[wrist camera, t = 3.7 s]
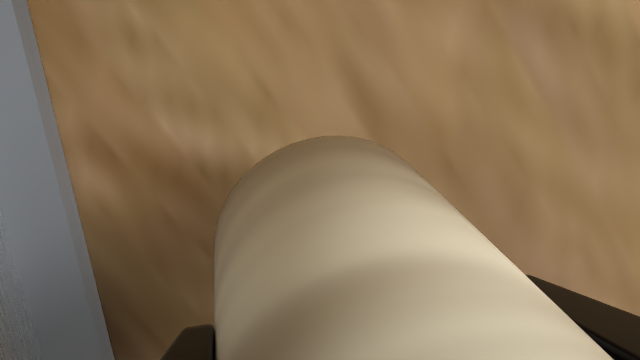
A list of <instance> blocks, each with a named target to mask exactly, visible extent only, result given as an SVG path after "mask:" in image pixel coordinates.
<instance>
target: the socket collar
mask: <svg viewBox="0 0 640 360" xmlns="http://www.w3.org/2000/svg"><path fill="white" fill-rule="evenodd" d="M42 353H43V350H42V346H41V343H40V340H39V337H38V333H37V330H36V327H35V323H34V320H33V317H32V314H31V310H30V307H29V304H28V301H27V297H26V294H25V291H24V287H23V284H22V281H21V278H20V274H19V271H18V268H17V265H16V261H15V258H14V255H13V251H12V248H11V245H10V242H9V238H8V235H7V232H6V229H5V225H4V222H3V219H2V216H1V212H0V360H40V358H41V355H42Z"/></svg>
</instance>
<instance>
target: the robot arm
mask: <svg viewBox="0 0 640 360" xmlns="http://www.w3.org/2000/svg"><path fill="white" fill-rule="evenodd" d="M526 276H527V277H528V278H529V279H530V280H531V281H532V282H533V283H534V284H535V285H536V286H537V287H538V288H539V289H540V290H541V291H542V292H543V293H544V294H545V295H546V296H547V297H549V298H550V299H551V300H552V301H553V302H554V303H555V304H556V305H557V306H558V307H559V308H560V309H561V310H562V311H563V312H564V313H565V314H566V315H567V316H568V317H569V318H570V319H572V320H573V321H574V322H575V323H576V324H577V325H578V326H579V327H580V328H581V329H582V330H583V331H584V332H585V333H586V334H587V335H588V336H589V337H590V338H591V339H592V340H593V341H595V342H596V343H597V344H598V345H599V346H600V347H601V348H602V349H603V350H604V351H605V352H606V353H607V354H608V355H609V356H610V357H611V358H612V359H613V360H640V317H639V316H636V315H634V314H631V313H629V312H626V311H623V310H621V309H618V308H615V307H613V306H610V305H607V304H605V303H602V302H600V301H597V300H594V299H592V298H589V297H586V296H584V295H581V294H578V293H576V292H573V291H570V290H568V289H565V288H563V287H560V286H557V285H555V284H552V283H549V282H547V281H544V280H541V279H539V278H536V277H534V276H531V275H526ZM161 360H215V331H214V327H213V326H212V325H210V324H207V325H200V326H194V327H188V328H185V329H183V330H182V331H181V333H180V334H179V335H178V337H177V338H176V339H175V341H174V342H173V343H172V345H171V346H170V348H169V349H168V350H167V352H166V353H165V354H164V356H163V357H162V358H161Z"/></svg>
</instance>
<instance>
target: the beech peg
mask: <svg viewBox="0 0 640 360" xmlns="http://www.w3.org/2000/svg"><path fill="white" fill-rule="evenodd" d="M214 315H215V360H613V359H612V358H611V357H610V356H609V355H608V354H607V353H606V352H605V351H604V350H603V349H602V348H601V347H600V346H599V345H598V344H597V343H596V342H595V341H593V340H592V339H591V338H590V337H589V336H588V335H587V334H586V333H585V332H584V331H583V330H582V329H581V328H580V327H579V326H578V325H577V324H576V323H575V322H574V321H573V320H572V319H570V318H569V317H568V316H567V315H566V314H565V313H564V312H563V311H562V310H561V309H560V308H559V307H558V306H557V305H556V304H555V303H554V302H553V301H552V300H551V299H550V298H549V297H547V296H546V295H545V294H544V293H543V292H542V291H541V290H540V289H539V288H538V287H537V286H536V285H535V284H534V283H533V282H532V281H531V280H530V279H529V278H528V277H527V276H526V275H524V274H523V273H522V272H521V271H520V270H519V269H518V268H517V267H516V266H515V265H514V264H513V263H512V262H511V261H510V260H509V259H508V258H507V257H506V256H505V255H504V254H502V253H501V252H500V251H499V250H498V249H497V248H496V247H495V246H494V245H493V244H492V243H491V242H490V241H489V240H488V239H487V238H486V237H485V236H484V235H483V234H482V233H481V232H479V231H478V230H477V229H476V228H475V227H474V226H473V225H472V224H471V223H470V222H469V221H468V220H467V219H466V218H465V217H464V216H463V215H462V214H461V213H460V212H459V211H458V210H456V209H455V208H454V207H453V206H452V205H451V204H450V203H449V202H448V201H447V200H446V199H445V198H444V197H443V196H442V195H441V194H440V193H439V192H438V191H437V190H436V189H435V188H433V187H432V186H431V185H430V184H429V183H428V182H427V181H426V180H425V179H424V178H423V177H422V176H421V175H420V174H419V173H418V172H417V171H416V170H415V169H414V168H413V167H412V166H410V165H409V164H408V163H407V162H406V161H405V160H404V159H403V158H401V157H400V156H399V155H397V154H396V153H395V152H393V151H391V150H389V149H388V148H386V147H384V146H382V145H379V144H377V143H374V142H371V141H369V140H365V139H360V138H356V137H347V136H322V137H316V138H311V139H306V140H303V141H299V142H296V143H293V144H290V145H288V146H286V147H284V148H281V149H279V150H277V151H275V152H274V153H272V154H270V155H269V156H267V157H265V158H264V159H262V160H261V161H260V162H259V163H257V164H256V165H255V166H254V167H252V168H251V169H250V170H249V171H248V172H247V173H246V174H245V175H244V176H243V177H242V178H241V179H240V181H239V182H238V183H237V185H236V186H235V187H234V189H233V190H232V191H231V193H230V195H229V196H228V198H227V200H226V202H225V203H224V205H223V208H222V210H221V213H220V216H219V218H218V222H217V226H216V231H215V240H214Z"/></svg>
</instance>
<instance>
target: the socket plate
mask: <svg viewBox="0 0 640 360" xmlns="http://www.w3.org/2000/svg"><path fill="white" fill-rule="evenodd" d="M0 212H1V216H2V219H3V222H4V225H5V229H6V232H7V235H8V238H9V242H10V245H11V248H12V251H13V255H14V258H15V261H16V265H17V268H18V271H19V274H20V278H21V281H22V284H23V287H24V291H25V294H26V297H27V301H28V304H29V307H30V310H31V314H32V317H33V320H34V323H35V327H36V330H37V333H38V337H39V340H40V343H41V346H42V350H43V353H42V355H41V358H40V360H114V356H113V352H112V348H111V343H110V339H109V335H108V331H107V327H106V323H105V319H104V315H103V311H102V307H101V303H100V299H99V294H98V290H97V286H96V282H95V278H94V274H93V270H92V266H91V262H90V258H89V254H88V249H87V245H86V241H85V237H84V233H83V229H82V225H81V221H80V217H79V213H78V209H77V205H76V200H75V196H74V192H73V188H72V184H71V180H70V176H69V172H68V168H67V164H66V160H65V156H64V151H63V147H62V143H61V139H60V135H59V131H58V127H57V123H56V119H55V115H54V111H53V107H52V102H51V98H50V94H49V90H48V86H47V82H46V78H45V74H44V70H43V66H42V62H41V57H40V53H39V49H38V45H37V41H36V37H35V33H34V29H33V25H32V21H31V17H30V13H29V8H28V4H27V0H0Z"/></svg>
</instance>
